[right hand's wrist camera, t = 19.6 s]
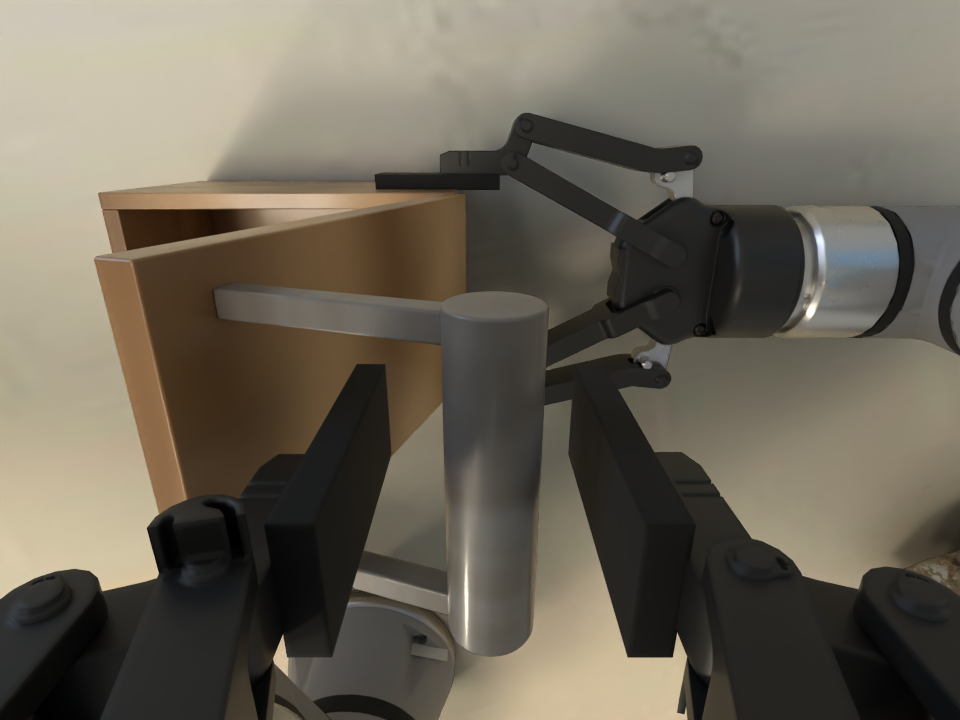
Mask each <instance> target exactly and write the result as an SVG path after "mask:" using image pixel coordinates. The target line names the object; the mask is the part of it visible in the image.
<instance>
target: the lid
mask: <svg viewBox="0 0 960 720" xmlns="http://www.w3.org/2000/svg"><path fill="white" fill-rule="evenodd" d="M94 261H95V265H96V269H97V273H98V277H99V281H100V285H101V289H102V293H103V296H104V300H105V304H106V308H107V312H108V316H109V320H110V324H111V328H112V332H113V335H114V339H115V343H116V347H117V351H118V355H119V359H120V363H121V367H122V371H123V375H124V378H125V382H126V386H127V390H128V394H129V398H130V402H131V406H132V410H133V414H134V417H135V421H136V425H137V429H138V433H139V437H140V441H141V445H142V449H143V453H144V456H145V460H146V464H147V468H148V472H149V476H150V480H151V484H152V488H153V492H154V495H155V499H156V503H157V507H158V511H159V514H161V513H162V512H163V511H165V510H166V509H168V508H169V507H171V506H173V505H176V504H178V503H180V502H182V501H185V500H187V499H191V498H195V497H199V496H204V495H218V494H223V495H228V496H232V497H236V498H237V499H238V498H240V495H241V494H242V492H243V491H244V489H245V488H246V486H247V485H249V482H250V481H251V479H252V478H253V476H254V475H255V473H256V472H257V471H258V469H259V468H260V467H261V466H262V465H264V464H265V463H266V462H268V461H269V460H271V459H272V458H274V457H275V456H276V455H278V454H305V453H306V451H307V449H308V448H309V446H310V444H311V442H312V441H313V439H314V437H315V435H316V434H317V432H318V430H319V428H320V427H321V425H322V423H323V422H324V420H325V418H326V416H327V415H328V413H329V411H330V409H331V408H332V406H333V404H334V403H335V401H336V399H337V397H338V396H339V394H340V392H341V390H342V389H343V387H344V385H345V383H346V382H347V380H348V378H349V377H350V375H351V373H352V371H353V370H354V368H355V366H356V364H385V365H386V379H387V394H388V409H389V423H390V438H391V453H392V454H391V456H392V455H393V454H394V453H395V452H396V451H397V450H398V449H399V448H400V447H401V446H402V445H403V443H404V442H405V441H406V440H407V439H408V438H409V437H410V436H411V435H412V434H413V433H414V432H415V431H416V430H417V429H418V428H419V427H420V425H421V424H422V423H423V422H424V421H425V420H426V419H427V418H428V417H429V416H430V415H431V414H432V413H433V412H434V411H435V410H436V409H437V407H438V406H439V405H440V404H441V403H442V402H443V438H444V477H445V516H446V555H447V572H445V571H441V570H437V569H433V568H429V567H426V566H422V565H418V564H414V563H410V562H406V561H402V560H398V559H394V558H391V557H387V556H383V555H379V554H375V553H371V552H367V551H363V553H362V557H361V560H360V564H359V567H358V571H357V574H356V577H355V581H354V584H353V588H354V589H357V590H361V591H364V592H368V593H371V594H375V595H378V596H382V597H385V598H389V599H392V600H396V601H400V602H403V603H407V604H410V605H414V606H417V607H421V608H424V609H428V610H431V611H435V612H438V613H442V614H445V615H448V625H449V629H450V632H451V634H452V636H453V637H454V639H455V640H456V641H457V643H458V644H459V645H460V646H462V647H463V648H464V649H466V650H467V651H469V652H471V653H474V654H477V655H481V656H487V657H496V656H502V655H506V654H509V653H512V652H513V651H515V650H517V649H518V648H520V647H521V646H522V645H523V644H524V643H525V642H526V641H527V639H528V638H529V636H530V634H531V632H532V629H533V618H534V598H535V578H536V558H537V538H538V518H539V498H540V477H541V457H542V437H543V417H544V397H545V377H546V357H547V337H548V317H549V307H548V305H547V303H546V302H545V301H543V300H541V299H539V298H537V297H534V296H530V295H526V294H521V293H514V292H502V291H484V292H472V293H466V195H465V194H448V193H447V194H441V195H435V196H430V197H424V198H419V199H413V200H408V201H402V202H396V203H391V204H385V205H380V206H374V207H369V208H363V209H357V210H352V211H346V212H341V213H335V214H330V215H324V216H318V217H313V218H307V219H302V220H296V221H290V222H285V223H279V224H274V225H268V226H263V227H257V228H251V229H246V230H240V231H235V232H229V233H224V234H218V235H212V236H207V237H201V238H196V239H190V240H185V241H179V242H173V243H168V244H162V245H157V246H151V247H146V248H140V249H134V250H129V251H123V252H118V253H112V254H106V255H101V256H97V257H95V258H94Z"/></svg>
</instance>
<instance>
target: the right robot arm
mask: <svg viewBox="0 0 960 720" xmlns="http://www.w3.org/2000/svg"><path fill="white" fill-rule="evenodd" d="M391 454H392V453H391V438H390V423H389V409H388V394H387V379H386V365H385V364H356V366H355V368H354V370H353V371H352V373H351V375H350V377H349V378H348V380H347V382H346V383H345V385H344V387H343V389H342V390H341V392H340V394H339V396H338V397H337V399H336V401H335V403H334V404H333V406H332V408H331V409H330V411H329V413H328V415H327V416H326V418H325V420H324V422H323V423H322V425H321V427H320V428H319V430H318V432H317V434H316V435H315V437H314V439H313V441H312V442H311V444H310V446H309V448H308V449H307V451H306V453H305V454H278V455H276V456H275V457H274V458H272V459H271V460H269V461H268V462H266V463H265V464H264V465H262V466H261V467H260V468H259V469H258V471H257V472H256V473H255V475H254V476H253V478H252V479H251V481H250V482H249V485H247V486H246V488H245V489H244V491H243V492H242V494H241V495H240V498H238V499H237V498H236V497H232V496H228V495H223V494H218V495H204V496H199V497H195V498H191V499H187V500H185V501H182V502H180V503H178V504H176V505H173V506H171V507H169V508H168V509H166V510H165V511H163V512H162V513H161V514H159V515H158V516H156V517H155V518H154V520H153V521H152V522H151V523H150V525H149V526H148V527H147V531H148V534H149V538H150V542H151V545H152V549H153V553H154V556H155V560H156V564H157V567H158V571H159V575H158V577H157V579H153V580H150V581H146V582H143V583H138V584H134V585H129V586H125V587H120V588H116V589H111V590H107V591H102V590H101V586H100V583H99V580H98V578H97V577H96V576H95V575H93V574H92V573H91V572H90V571H85V570H78V569H71V570H64V571H56V572H53V573H50V574H46V575H44V576H40V577H38V578H35V579H33V580H31V581H29V582H27V583H25V584H23V585H21V586H19V587H17V588H15V589H14V590H12V591H11V592H9V593H8V594H7V595H5V596H4V597H3V598H2V599H0V720H273V710H274V700H275V690H276V673H275V666H274V661H273V657H274V655H275V652H276V650H277V647H278V645H279V642H280V640H281V638H282V635H283V636H284V642H285V647H286V653H287V657H332V656H333V653H334V649H335V646H336V643H337V639H338V636H339V632H340V629H341V625H342V622H343V619H344V615H345V612H346V608H347V605H348V601H349V598H350V595H351V591H352V588H353V584H354V581H355V577H356V574H357V571H358V567H359V564H360V560H361V557H362V553H363V550H364V547H365V543H366V540H367V536H368V533H369V529H370V526H371V523H372V519H373V516H374V512H375V509H376V505H377V502H378V499H379V495H380V492H381V488H382V485H383V481H384V478H385V475H386V471H387V468H388V464H389V461H390V457H391ZM568 454H569V457H570V461H571V464H572V468H573V471H574V475H575V478H576V481H577V485H578V488H579V492H580V495H581V499H582V502H583V505H584V509H585V512H586V516H587V519H588V523H589V526H590V529H591V533H592V536H593V540H594V543H595V547H596V550H597V553H598V557H599V560H600V564H601V567H602V571H603V574H604V577H605V581H606V584H607V588H608V591H609V595H610V598H611V601H612V605H613V608H614V612H615V615H616V619H617V622H618V625H619V629H620V632H621V636H622V639H623V643H624V646H625V649H626V653H627V656H628V657H673V653H674V647H675V642H676V636H677V632H678V635H679V637H680V640H681V642H682V645H683V647H684V650H685V652H686V654H687V661H686V666H685V671H684V677H683V682H682V687H681V693H680V698H679V704H678V711H677V713H681V714H685V709H687V718H688V720H960V596H959V595H957V594H956V593H955V592H953V591H952V590H951V589H949V588H948V587H946V586H944V585H942V584H940V583H939V582H937V581H935V580H933V579H931V578H929V577H927V576H924V575H921V574H919V573H915V572H912V571H909V570H906V569H899V568H892V567H881V568H874V569H871V570H869V571H868V572H867V573H866V574H865V575H863V577H862V580H861V583H860V586H859V589H855V588H850V587H846V586H841V585H837V584H832V583H828V582H823V581H819V580H815V579H811V578H808V577H805V576H802V574H801V572H800V571H799V569H798V568H797V566H796V565H795V563H794V562H793V560H791V559H790V558H789V557H788V556H786V555H785V554H784V553H783V552H781V551H780V550H779V549H777V548H775V547H772V546H770V545H768V544H766V543H764V542H762V541H759V540H755V539H752V538H751V537H750V536H749V534H748V533H747V531H746V530H745V528H744V527H743V526H742V524H741V523H740V521H739V520H738V518H737V517H736V516H735V514H734V513H733V511H732V510H731V508H730V507H729V506H728V504H727V503H726V501H725V500H724V498H723V497H720V493H719V491H718V490H717V488H716V487H715V486H714V484H711V480H710V478H709V477H708V476H707V474H706V473H705V471H704V470H703V468H702V467H701V466H700V465H699V464H698V463H696V462H695V461H693V460H692V459H691V458H689V457H688V456H686V455H685V454H683V453H682V452H654V451H653V449H652V448H651V446H650V444H649V442H648V441H647V439H646V437H645V435H644V434H643V432H642V430H641V428H640V427H639V425H638V423H637V422H636V420H635V418H634V416H633V415H632V413H631V411H630V409H629V408H628V406H627V404H626V403H625V401H624V399H623V397H622V396H621V394H620V392H619V390H618V389H617V387H616V385H615V383H614V382H613V380H612V378H611V377H610V375H609V373H608V371H607V370H606V368H605V366H604V364H575V365H574V379H573V394H572V409H571V423H570V438H569V453H568Z"/></svg>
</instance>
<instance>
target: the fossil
mask: <svg viewBox="0 0 960 720" xmlns="http://www.w3.org/2000/svg"><path fill="white" fill-rule="evenodd" d="M905 569H906V570H909V571H912V572H915V573H919V574H921V575H924V576H927V577H929V578H931V579H933V580H935V581H937V582H939V583H940V584H942V585H944V586H946V587H948V588H949V589H951V590H952V591H953V592H955V593H956V594H957V595H959V596H960V550H959V551H957V552H954V553H947V554H946V555H942V556H940V557H938V558H936V559H927V560H925V561H923V562H922V563H920V564H917V565H913V566H911V567H908V568H905Z"/></svg>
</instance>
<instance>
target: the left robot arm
mask: <svg viewBox="0 0 960 720" xmlns="http://www.w3.org/2000/svg"><path fill="white" fill-rule="evenodd" d="M532 142H533V143H536V144H540V145H543V146H547V147H551V148H554V149H558V150H562V151H565V152H569V153H572V154H576V155H580V156H583V157H587V158H591V159H594V160H598V161H602V162H605V163H609V164H612V165H616V166H620V167H623V168H627V169H631V170H636V171H643V172H650V179H651V182H652V183H653V184H654V185H656V186H659V187H663V188H665V189H666V190H667V191H668V193H669V199H667V200H665V201H664V202H663V203H661V204H660V205H658V206H657V207H655V208H654V209H652V210H651V211H649V212H648V213H647V214H645V215H644V216H642V217H641V218H639V219H638V220H635V219H634V218H632V217H630V216H628V215H626V214H625V213H623V212H621V211H619V210H617V209H616V208H614V207H612V206H610V205H609V204H607V203H605V202H603V201H602V200H600V199H598V198H596V197H595V196H593V195H591V194H590V193H588V192H586V191H584V190H583V189H581V188H579V187H577V186H576V185H574V184H572V183H570V182H569V181H567V180H565V179H563V178H562V177H560V176H558V175H556V174H555V173H553V172H551V171H550V170H548V169H546V168H544V167H543V166H541V165H539V164H537V163H536V162H534V161H532V160H530V159H529V158H527V155H528V152H529V149H530V147H531V144H532ZM702 157H703V156H702V151H701V150H700V148H698V147H697V146H671V147H661V148H653V147H649V146H645V145H642V144H638V143H635V142H631V141H628V140H624V139H620V138H617V137H613V136H610V135H606V134H603V133H599V132H595V131H592V130H588V129H585V128H581V127H578V126H574V125H570V124H567V123H563V122H560V121H556V120H552V119H549V118H545V117H542V116H538V115H535V114H531V113H524V114H521V115H520V116H518V117H517V118H516V120H515V121H514V123H513V126H512V129H511V132H510V134H509V137H508V140H507V142H506V144H505V145H504V147H502V148H501V149H499V150H497V151H448V152H446V153H443V154H441V155H440V173H380V174H375V187H376V189H456V190H499V185H500V175H509V176H511V177H513V178H514V179H516V180H518V181H520V182H521V183H523V184H525V185H527V186H529V187H530V188H532V189H534V190H536V191H537V192H539V193H541V194H543V195H544V196H546V197H548V198H550V199H552V200H553V201H555V202H557V203H559V204H560V205H562V206H564V207H566V208H567V209H569V210H571V211H573V212H575V213H576V214H578V215H580V216H582V217H583V218H585V219H587V220H589V221H590V222H592V223H594V224H596V225H598V226H599V227H601V228H603V229H605V230H606V231H608V232H610V233H612V234H613V235H615V236H617V237H616V239H615V242H614V243H611V252H610V257H611V263H612V272H611V275H610V278H609V280H608V287H607V295H608V296H609V298H607V299H605V300H603V301H601V302H599V303H597V304H596V305H594V306H593V308H592V309H591V310H589V311H587V312H585V313H583V314H581V315H579V316H577V317H574V318H572V319H570V320H568V321H566V322H564V323H562V324H560V325H558V326H556V327H554V328H552V329H550V330H548V337H547V357H546V367H548V366H550V365H552V364H554V363H556V362H558V361H560V360H563V359H565V358H567V357H569V356H571V355H573V354H575V353H577V352H579V351H581V350H584V349H586V348H588V347H590V346H592V345H594V344H596V343H598V342H600V341H602V340H605V339H607V338H616V337H619V336H621V335H623V334H625V333H627V332H629V331H631V330H633V329H635V328H639V329H640V330H641V331H643V332H644V333H645V334H647V335H648V336H649V337H651V338H652V339H651V341H650V342H649V343H648V344H647V345H645V346H642V347H637V348H634V349H633V351H632V352H631V354H618V355H612V356H608V357H603V358H599V359H595V360H590V361H586V362H582V363H577V364H604V366H605V368H606V370H607V371H608V373H609V375H610V377H611V378H612V380H613V382H614V383H615V385H616V387H617V389H620V388H625V387H629V386H637V387H647V388H657V389H661V388H665V387H667V386H668V385H669V384H670V382H671V376H670V373H669V372H668V371H667V370H666V368H667V364H668V360H669V356H670V352H671V347H672V345H673V344H676V343H678V342H680V341H682V340H685V339H688V338H691V337H707V338H764V337H768V336H771V335H772V334H773V335H774V336H776V337H780V338H831V337H849V338H863V337H865V338H911V339H918V340H923V341H927V342H930V343H932V344H935V345H937V346H939V347H942V348H944V349H946V350H949V351H951V352H953V353H956V354H958V355H959V356H960V206H919V207H878V206H789V207H787V208H784V209H783V208H782V207H780V206H776V205H705V204H703V203H701V202H699V201H698V200H696V199H694V198H693V178H694V169H695V168H697V167H698V166H699V165H700V163H701V162H702ZM574 365H575V364H573V365H568V366H564V367H560V368H555V369H551V370H546V377H545V397H544V405H548V404H553V403H557V402H562V401H566V400H571V399H572V394H573V379H574ZM274 666H275V673H276V690H275V700H274V710H273V720H438V718H439V716H440V714H441V711H442V709H443V706H444V704H445V702H446V699H447V697H448V694H449V692H450V689H451V687H452V683H453V679H454V670H455V647H454V643H453V640H452V637H451V635H450V633H449V631H448V630H447V628H446V627H445V625H444V624H443V623H442V622H441V621H440V620H439V619H438V618H437V617H436V616H435V615H434V614H433V613H432V612H431V611H429V610H428V609H424V608H421V607H417V606H414V605H410V604H407V603H403V602H400V601H396V600H392V599H389V598H385V597H382V596H378V595H375V594H371V593H368V592H357V593H351V595H350V598H349V601H348V605H347V608H346V612H345V615H344V619H343V622H342V625H341V629H340V632H339V636H338V639H337V643H336V646H335V649H334V653H333V656H332V657H289V662H288V677H287V676H286V675H285V674H284V673H283V672H282V671H281V670H280V669H279V668H278V667H277V666H276V665H275V664H274Z"/></svg>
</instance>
